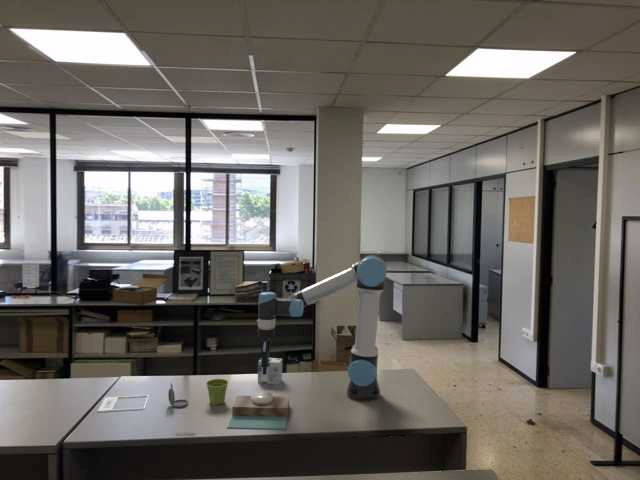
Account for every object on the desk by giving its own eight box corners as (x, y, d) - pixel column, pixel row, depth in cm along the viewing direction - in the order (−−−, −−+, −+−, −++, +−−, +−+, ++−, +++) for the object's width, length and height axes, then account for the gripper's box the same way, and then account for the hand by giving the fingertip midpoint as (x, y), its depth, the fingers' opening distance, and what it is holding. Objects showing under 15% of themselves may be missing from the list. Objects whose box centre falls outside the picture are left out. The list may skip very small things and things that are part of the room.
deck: (289, 405, 206) (289, 396, 205) (287, 417, 194) (287, 408, 193) (237, 404, 205) (237, 395, 205) (232, 416, 194) (232, 406, 193)
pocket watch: (191, 403, 205) (191, 380, 205) (177, 410, 198) (177, 386, 197) (176, 400, 209) (176, 377, 208) (162, 407, 201) (162, 383, 201)
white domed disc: (273, 396, 205) (273, 392, 205) (271, 404, 196) (271, 400, 196) (252, 395, 205) (252, 391, 205) (249, 404, 196) (249, 400, 196)
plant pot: (223, 407, 202) (223, 387, 201) (202, 405, 204) (202, 385, 203) (231, 399, 211) (231, 380, 211) (211, 397, 213) (211, 377, 212)
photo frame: (105, 396, 209) (149, 394, 213) (105, 399, 209) (149, 397, 213) (97, 410, 194) (144, 407, 198) (97, 413, 194) (144, 410, 198)
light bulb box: (257, 383, 232) (257, 360, 231) (261, 378, 239) (261, 356, 238) (278, 384, 230) (279, 362, 230) (282, 380, 237) (282, 358, 236)
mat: (287, 417, 194) (287, 416, 194) (285, 429, 183) (285, 428, 183) (232, 416, 194) (232, 415, 193) (227, 428, 183) (227, 427, 183)
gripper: (259, 323, 217) (257, 375, 219) (255, 331, 204) (254, 385, 206) (276, 324, 217) (274, 376, 219) (273, 331, 204) (271, 386, 206)
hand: (264, 380), depth 212 cm, fingers closed
